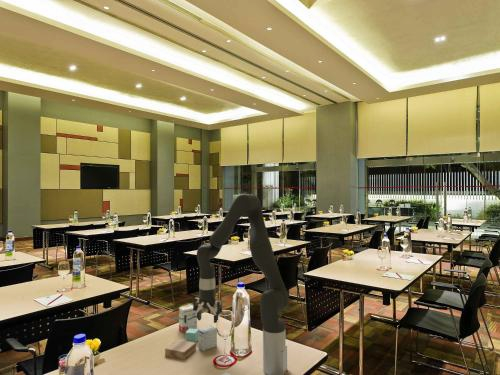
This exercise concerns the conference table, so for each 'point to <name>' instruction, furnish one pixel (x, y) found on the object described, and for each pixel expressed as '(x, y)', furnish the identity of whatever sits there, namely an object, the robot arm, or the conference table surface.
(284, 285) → the robot arm
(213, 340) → the medicine box
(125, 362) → the conference table surface
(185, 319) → the ink box
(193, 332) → the teal cube
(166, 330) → the conference table surface
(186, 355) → the walnut slab
